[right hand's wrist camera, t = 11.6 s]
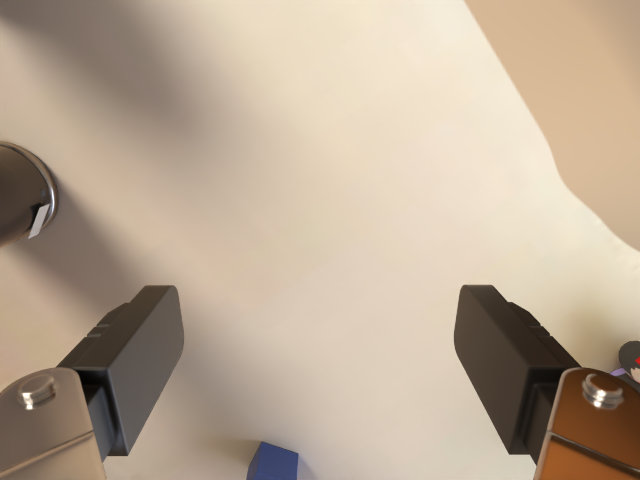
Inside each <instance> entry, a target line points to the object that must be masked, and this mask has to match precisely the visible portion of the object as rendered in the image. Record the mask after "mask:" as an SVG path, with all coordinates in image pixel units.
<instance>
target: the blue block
mask: <svg viewBox="0 0 640 480" xmlns="http://www.w3.org/2000/svg"><path fill="white" fill-rule="evenodd" d="M297 465H298V453H295V452H292V451H289V450H286V449H283V448H280V447H276V446H273V445H270V444H267V443H264V442H261V444H260V446H259V448H258V450H257V452H256V454H255V456H254V458H253V460H252V462H251V464H250V466H249V468H248V473H247V478H246V480H297Z"/></svg>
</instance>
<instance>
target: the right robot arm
mask: <svg viewBox="0 0 640 480" xmlns="http://www.w3.org/2000/svg"><path fill="white" fill-rule="evenodd" d="M57 208H58V192H57V188H56V185H55V182H54V180H53V178H52V176H51V174H50V172H49V171H48V169H47V168H46V167H45V165H44V164H43V163H42V162H41V161H40V160H39V159H38V158H37V157H35V156H34V155H33V154H32V153H30V152H29V151H27V150H26V149H24V148H22V147H20V146H17V145H15V144H12V143H8V142H3V141H0V248H2V247H4V246H6V245H8V244H11V243H13V242H15V241H17V240H19V239H21V238H23V237H25V236H28V235H29V238H31V237H33V236H35V235H37V234H39V231H40V230H42V229H44V228H45V227H46V226H48V225H49V224H50V223H51V221H52V220H53V218H54V217H55V215H56V212H57ZM29 238H28V239H29ZM183 345H184V331H183V324H182V317H181V310H180V303H179V296H178V291H177V289H176V287H175V286H173V285H147V286H145V287H144V288H143V289H142V290H141V291H140V292H139V293H138V294H137V295H136V296H135V297H134V299H133V300H132V301H131V302H130V303H124V304H123V305H121V306H119V307H117V308H116V309H114V310H112V311H111V312H109V313H108V314H107V315H106V316H105V317H104V318H103V319H102V320H101V321H100V322H99V323H98V324H97V327H94V328H93V329H92V330H91V331H90V332H89V333H88V334H87V337H84V338H83V339H82V341H81V342H80V343H79V344H78V345H77V346H76V347H75V348H74V349H73V350H72V351H71V352H70V353H69V354H68V355H67V356H66V357H65V358H64V359H63V360H62V361H61V362H60V363H59V364H58V365H57V367H56V368H49V369H44V370H41V371H37V372H34V373H32V374H29V375H27V376H25V377H22V378H20V379H19V380H17V381H15V382H14V383H12V384H10V385H9V386H8V387H6V388H5V389H4V390H3V391H2V392H1V393H0V480H107V478H106V475H105V471H104V467H103V462H104V460H105V458H106V456H128V455H129V453H130V451H131V449H132V447H133V445H134V443H135V441H136V439H137V438H138V436H139V434H140V432H141V430H142V428H143V426H144V424H145V422H146V421H147V419H148V417H149V415H150V413H151V411H152V409H153V407H154V405H155V404H156V402H157V400H158V398H159V396H160V394H161V392H162V390H163V388H164V387H165V385H166V383H167V381H168V379H169V377H170V375H171V373H172V371H173V370H174V368H175V366H176V364H177V362H178V360H179V358H180V356H181V354H182V350H183ZM454 345H455V350H456V353H457V356H458V358H459V360H460V361H461V363H462V365H463V367H464V369H465V371H466V373H467V375H468V377H469V379H470V381H471V383H472V384H473V386H474V388H475V390H476V392H477V394H478V396H479V398H480V400H481V402H482V404H483V405H484V407H485V409H486V411H487V413H488V415H489V417H490V419H491V421H492V423H493V425H494V426H495V428H496V430H497V432H498V434H499V436H500V438H501V440H502V442H503V444H504V446H505V448H506V449H507V451H508V453H509V455H530V456H531V457H532V459H533V461H534V462H535V464H536V466H537V467H536V471H535V475H534V478H533V480H640V393H639V392H638V391H637V390H636V389H635V388H634V387H632V386H631V385H630V384H628V383H626V382H625V381H623V380H621V379H620V378H618V377H615V376H613V375H611V374H608V373H606V372H603V371H599V370H596V369H591V368H582V367H581V366H580V365H579V364H578V363H577V362H576V361H575V360H574V359H573V357H572V356H571V355H570V354H569V353H568V352H567V351H566V350H565V349H564V348H563V347H562V346H561V345H560V344H559V343H558V342H557V341H556V340H555V339H554V338H553V336H550V333H549V332H548V331H547V330H546V329H545V328H544V327H543V326H541V325H540V323H539V322H538V321H537V320H536V319H535V318H534V317H533V316H532V314H531V313H530V312H528V311H526V310H525V309H523V308H521V307H520V306H518V305H516V304H514V303H513V302H507V301H506V300H505V299H504V297H503V296H502V295H501V294H500V293H499V292H498V291H497V290H496V288H495V287H494V286H492V285H463V286H462V288H461V290H460V295H459V302H458V309H457V316H456V323H455V330H454Z"/></svg>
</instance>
